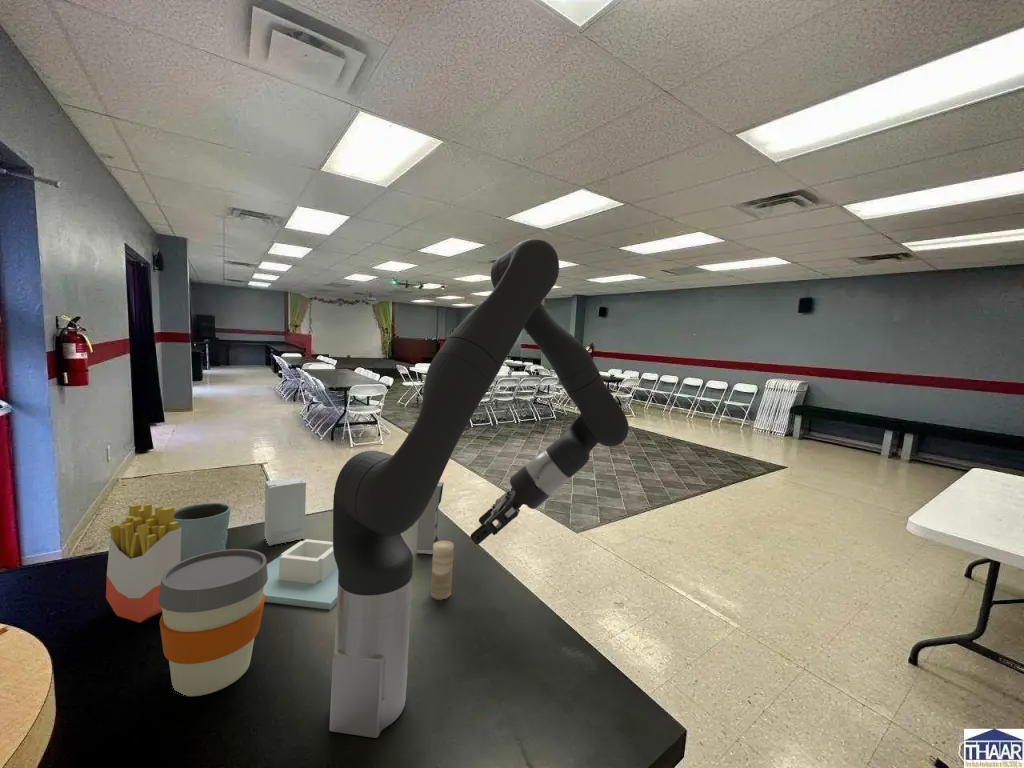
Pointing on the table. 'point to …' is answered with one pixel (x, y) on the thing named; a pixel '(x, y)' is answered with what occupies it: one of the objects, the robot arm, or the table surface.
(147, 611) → the french fries container
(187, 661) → the reusable coffee cup
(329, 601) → the sleeve holder
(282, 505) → the skincare box
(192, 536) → the blue embossed cup
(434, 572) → the maple peg
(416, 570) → the table surface
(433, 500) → the vintage mobile phone
